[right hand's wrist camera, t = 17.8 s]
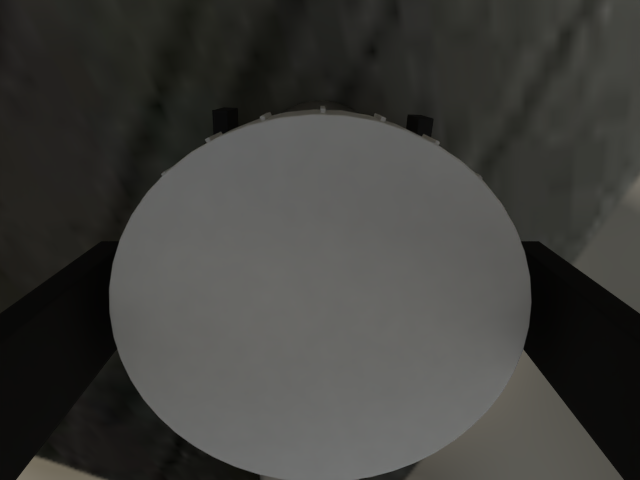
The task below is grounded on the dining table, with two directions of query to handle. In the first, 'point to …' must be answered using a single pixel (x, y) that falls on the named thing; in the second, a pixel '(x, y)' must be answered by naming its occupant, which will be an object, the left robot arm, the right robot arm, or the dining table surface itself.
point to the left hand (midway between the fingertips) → (323, 112)
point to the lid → (320, 296)
